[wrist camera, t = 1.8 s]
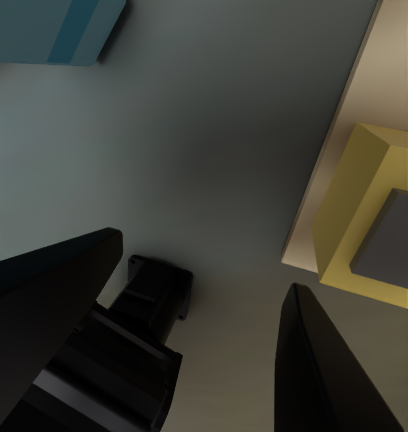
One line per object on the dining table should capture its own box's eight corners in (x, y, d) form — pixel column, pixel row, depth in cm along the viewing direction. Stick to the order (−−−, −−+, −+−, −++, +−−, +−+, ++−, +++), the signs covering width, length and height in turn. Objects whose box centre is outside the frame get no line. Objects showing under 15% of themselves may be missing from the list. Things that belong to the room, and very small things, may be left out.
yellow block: (405, 252, 17) (459, 332, 11) (311, 227, 18) (320, 291, 12) (480, 145, 13) (606, 191, 8) (356, 122, 14) (396, 149, 9)
